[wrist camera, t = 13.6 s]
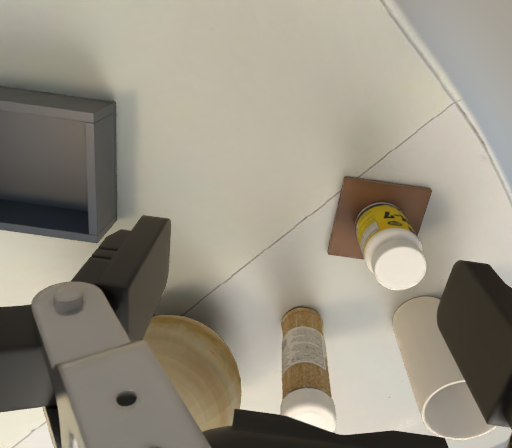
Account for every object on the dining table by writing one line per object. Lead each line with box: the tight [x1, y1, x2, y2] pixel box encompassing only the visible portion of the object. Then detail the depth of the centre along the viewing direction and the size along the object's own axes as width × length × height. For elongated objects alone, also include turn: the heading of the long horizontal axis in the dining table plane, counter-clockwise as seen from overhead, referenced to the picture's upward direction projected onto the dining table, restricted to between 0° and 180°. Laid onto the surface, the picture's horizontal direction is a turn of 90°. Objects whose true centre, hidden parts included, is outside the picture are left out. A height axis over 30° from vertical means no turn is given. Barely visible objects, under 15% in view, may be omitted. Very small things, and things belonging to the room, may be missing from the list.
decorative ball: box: [143, 315, 241, 432], centre depth 43 cm, size 15×15×15 cm
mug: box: [393, 297, 497, 440], centre depth 40 cm, size 10×7×12 cm, turn 153°
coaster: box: [328, 177, 432, 259], centre depth 42 cm, size 8×8×1 cm
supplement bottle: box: [355, 202, 426, 290], centre depth 38 cm, size 5×5×8 cm
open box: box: [0, 86, 117, 243], centre depth 39 cm, size 12×14×5 cm
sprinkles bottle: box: [281, 307, 336, 432], centre depth 41 cm, size 5×5×14 cm
